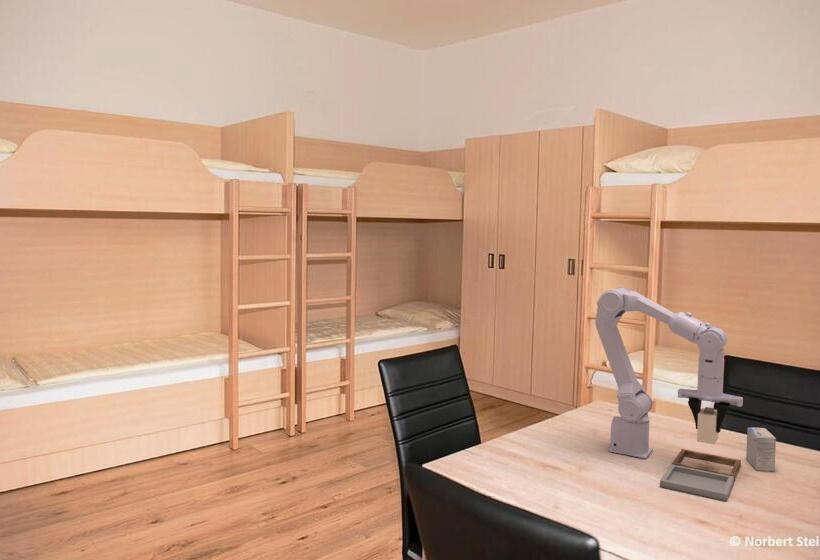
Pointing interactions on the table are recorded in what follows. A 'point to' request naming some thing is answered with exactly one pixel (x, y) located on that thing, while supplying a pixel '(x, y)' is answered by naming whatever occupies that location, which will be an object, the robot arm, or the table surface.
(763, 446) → the medicine box
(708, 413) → the plug block
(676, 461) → the frame
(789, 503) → the table surface
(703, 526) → the table surface
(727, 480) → the lower tray
